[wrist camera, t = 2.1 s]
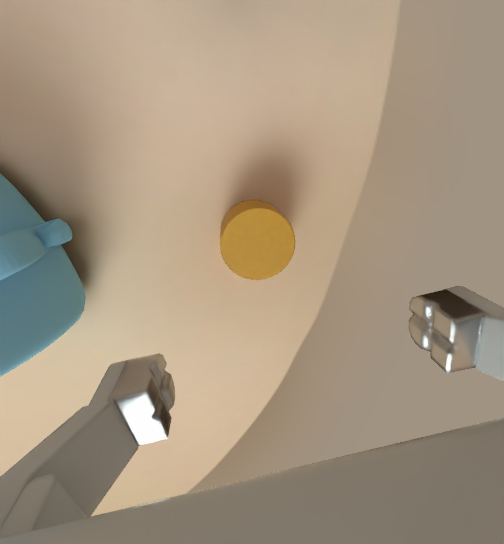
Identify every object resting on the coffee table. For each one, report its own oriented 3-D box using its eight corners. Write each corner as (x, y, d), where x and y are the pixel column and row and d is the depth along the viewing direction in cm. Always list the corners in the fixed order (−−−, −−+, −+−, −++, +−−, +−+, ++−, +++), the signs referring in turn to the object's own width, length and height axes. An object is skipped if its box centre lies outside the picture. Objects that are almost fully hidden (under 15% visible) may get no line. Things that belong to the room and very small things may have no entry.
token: (279, 193, 21) (290, 200, 17) (288, 255, 23) (299, 272, 19) (213, 207, 20) (212, 216, 17) (228, 268, 22) (229, 286, 19)
